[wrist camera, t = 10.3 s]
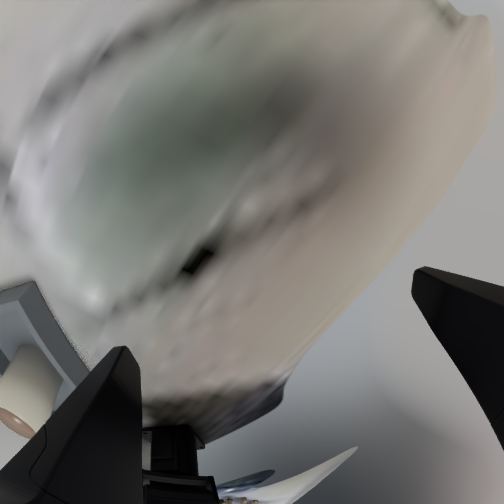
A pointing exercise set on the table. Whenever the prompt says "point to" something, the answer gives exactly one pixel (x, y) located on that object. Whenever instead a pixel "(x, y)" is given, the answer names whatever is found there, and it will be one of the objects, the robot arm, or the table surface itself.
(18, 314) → the desk tray
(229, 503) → the unicorn figurine
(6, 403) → the ceramic cup
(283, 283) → the table surface
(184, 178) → the table surface
